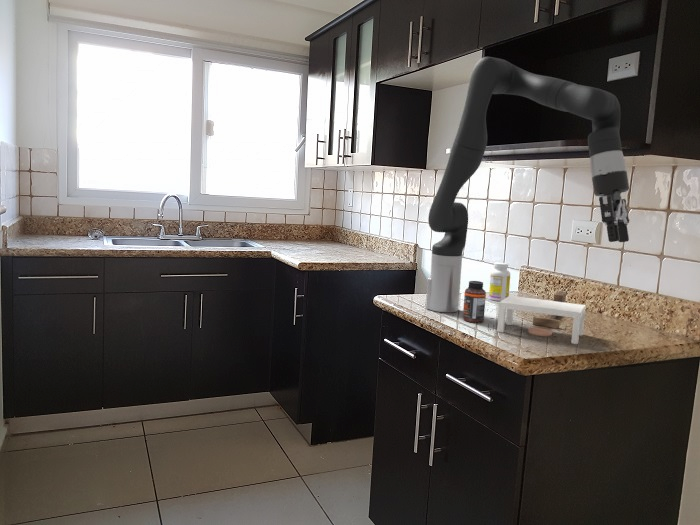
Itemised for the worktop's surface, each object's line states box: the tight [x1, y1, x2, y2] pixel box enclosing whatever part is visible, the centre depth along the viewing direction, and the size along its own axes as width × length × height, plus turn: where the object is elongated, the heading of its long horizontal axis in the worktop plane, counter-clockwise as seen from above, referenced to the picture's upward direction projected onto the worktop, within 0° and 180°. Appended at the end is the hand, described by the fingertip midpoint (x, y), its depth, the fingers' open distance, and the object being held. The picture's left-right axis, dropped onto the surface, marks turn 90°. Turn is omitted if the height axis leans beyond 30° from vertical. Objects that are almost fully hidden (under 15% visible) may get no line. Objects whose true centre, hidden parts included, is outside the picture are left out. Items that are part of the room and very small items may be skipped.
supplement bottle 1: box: [462, 280, 487, 324], centre depth 160 cm, size 6×6×11 cm
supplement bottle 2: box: [488, 262, 511, 302], centre depth 196 cm, size 7×7×13 cm
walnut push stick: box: [532, 290, 567, 329], centre depth 170 cm, size 7×29×6 cm, turn 152°
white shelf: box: [496, 295, 586, 345], centre depth 149 cm, size 20×12×8 cm, turn 62°
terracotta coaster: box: [527, 325, 553, 337], centre depth 150 cm, size 6×6×2 cm
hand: (619, 241), depth 131 cm, fingers open, 8 cm apart
